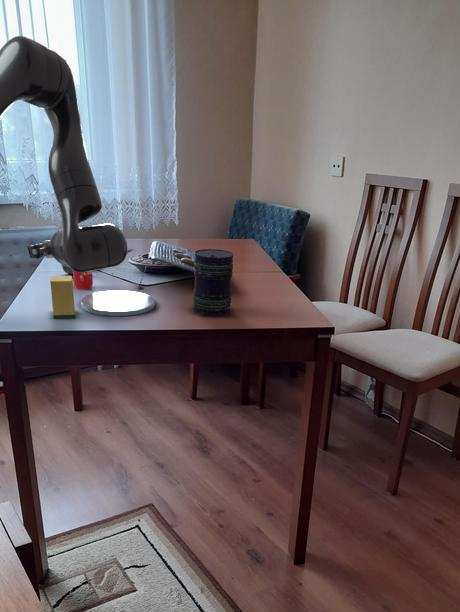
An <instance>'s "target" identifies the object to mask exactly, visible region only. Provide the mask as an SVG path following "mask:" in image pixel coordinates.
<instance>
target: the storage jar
mask: <svg viewBox="0 0 460 612" xmlns="http://www.w3.org/2000/svg"><path fill="white" fill-rule="evenodd" d="M194 252H195V262H194V272H193V274H194V289H193V296H192V298H193V299H192V302H193V313H194V314H196V315H198V316H201V317H208V318H219V317H221V318H222V317H225V316H229V315H230V313H231V304H232V291H231V286H232V284H231V280H232V277H233V269H234V264H233V263H234V260H233V259H234V253H233V252H232V251H228V250H225V249H224V250H223V249H217V248H216V249H213V248H206V249H197V250H195V251H194Z"/></svg>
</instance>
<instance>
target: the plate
mask: <svg viewBox="0 0 460 612" xmlns="http://www.w3.org/2000/svg"><path fill="white" fill-rule="evenodd" d="M155 306H156V300H155V298H154V297H153V296H151V295H149V294H146V293H143V292H138V291H131V290H105V291H104V290H103V291H97V292H93V293H90V294H87V295H85V296H83V297H81V299H80V307H81V308H82V309H83V310H84V311H86V312H88V313H91V314H95V315H100V316H110V317H125V316H126V317H128V316H137V315H141V314H144V313H147V312H150V311H152V310H153V309H154V308H155Z"/></svg>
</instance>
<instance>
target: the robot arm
mask: <svg viewBox="0 0 460 612" xmlns="http://www.w3.org/2000/svg"><path fill="white" fill-rule="evenodd" d="M75 84H76V83H75V79H74V75H73V72H72V69H71V67H70V64H69V63H68V61H67V60H66V58H64V56H62V55H61V54H59V53H58V52H56V51H55V50H53V49H51V48H49V47H47V46H45V45H43V44H41V43H39V42H38V41H36V40H34V39H32V38H29V37H27V36H24V35H17V36H13V37H12V38H10V39H9V40H8V41H6V42H5V43H4V44H3V45H2V47H1V48H0V119H1V118H2V116H3V115H4V114H5V112H6V111H7V110H8V109H9V108H10V107H11V106H12V105H13V104H14V103H16V102H17V101H22V102H25V103H27V104H30V105H32V106H35V107H36V108H39V109H43V110H44V112H45V114H46V116H47V118H48V120H49V123H50V125H51V129H52V131H53V136H52V137H53V139H52V143H51V147H50V151H49V155H48V163H47V166H48V176H49V181H50V184H51V187H52V189H53V193H54V196H55V198H56V202H57V205H58V209H59V213H60V219H61V228H60V229H58V230H56V231H55V233H53V235H52V237H51V239H49V240H43V241H42V243H40V242H38V243H36V244H28V245H26V248H27V251H28V255H29V259H37V260H39V259H40V258H42V257H45V258H46V259H54V260H55V261H57V262H58V263H59V264H62V265H65V266H69V267H70V268H71V269H72V270H74V271H76V272H88V271H92V272H93V271H98V270H104V269H111V268H114V267H117V266H120V265H121V264H122V263H123V262H124V261H125V259H126V258H127V254H128V251H127V250H128V242H127V238H126V236H125V233H123V231H122V230H121V229H120V228H119V227H118V226H117V225H115V224H113V223H103V224H102V223H101V224H97V225H90V226H82V227H80V226H79V225H80V224H81V223H84V222H85V221H87V220H90V219H93V218H94V217H95V216H97V215H98V214H99V213H100V212H101V211H102V207H103V206H102V205H103V204H102V198H101V195H100V192H99V189H98V186H97V183H96V180H95V177H94V174H93V171H92V169H91V165H90V162H89V159H88V154H87V150H86V145H85V141H84V135H83V128H82V122H81V115H80V108H79V103H78V96H77V91H76V85H75Z"/></svg>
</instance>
